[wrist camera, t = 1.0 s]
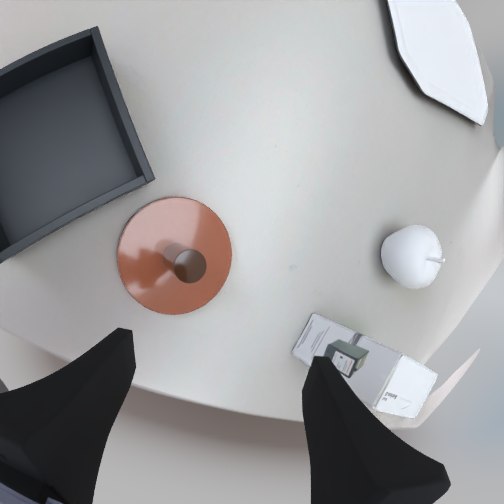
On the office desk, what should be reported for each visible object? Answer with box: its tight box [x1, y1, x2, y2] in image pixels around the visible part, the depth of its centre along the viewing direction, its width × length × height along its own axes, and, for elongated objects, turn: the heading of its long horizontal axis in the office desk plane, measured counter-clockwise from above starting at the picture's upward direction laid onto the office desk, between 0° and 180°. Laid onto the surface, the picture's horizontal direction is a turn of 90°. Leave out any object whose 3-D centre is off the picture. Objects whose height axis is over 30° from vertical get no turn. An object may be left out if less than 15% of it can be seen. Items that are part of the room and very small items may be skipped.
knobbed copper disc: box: [117, 197, 232, 315], centre depth 22 cm, size 9×9×5 cm
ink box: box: [292, 313, 438, 419], centre depth 27 cm, size 9×5×12 cm, turn 58°
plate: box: [386, 0, 488, 126], centre depth 36 cm, size 29×29×2 cm
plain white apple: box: [381, 225, 445, 289], centre depth 32 cm, size 7×7×8 cm
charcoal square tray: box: [0, 26, 155, 263], centre depth 17 cm, size 12×12×4 cm
